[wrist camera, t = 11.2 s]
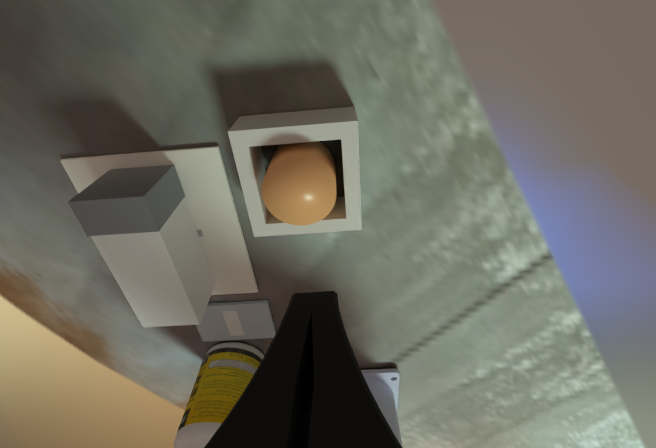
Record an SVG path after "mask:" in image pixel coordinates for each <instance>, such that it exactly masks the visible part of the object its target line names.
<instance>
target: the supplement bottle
mask: <svg viewBox="0 0 656 448" xmlns="http://www.w3.org/2000/svg"><path fill="white" fill-rule="evenodd" d="M263 358H264V355H263V354H262V353H261V352H260V351H259V350H258V349H256V348H255V347H253V346H251V345H248V344H244V343H239V342H226V343H221V344H217V345H215V346H213V347H212V348H210V349H209V350H208V351H207V353H206V355H205V357H204V359H203V362H202V364H201V367H200V371H199V373H198V376H197V379H196V382H195V385H194V387H193V390H192V393H191V396H190V399H189V402H188V404H187V407H186V410H185V413H184V415H183V418H182V421H181V424H180V426H179V429H178V432H177V435H176V438H175V443H174V448H204V447H205V446H206V444H207V443H208V442H209V440H210V439H211V438H212V436H213V435H214V433H215V432H216V431H217V429H218V428H219V427H220V425H221V424H222V423H223V421H224V420H225V418H226V417H227V416H228V414H229V413H230V411H231V410H232V408H233V407H234V405H235V404H236V402H237V401H238V399H239V398H240V396H241V395H242V393H243V392H244V390H245V388H246V387H247V385H248V384H249V382H250V380H251V379H252V377H253V375H254V373H255V372H256V370H257V368H258V367H259V365H260V363H261V361H262V360H263Z"/></svg>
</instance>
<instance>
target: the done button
mask: <svg viewBox="0 0 656 448" xmlns="http://www.w3.org/2000/svg"><path fill="white" fill-rule="evenodd" d="M262 198H263V201H264V204H265V206H266V207H267V209H268V210H269V211H270V213H271V214H272V215H273V216H275V217H276V218H277V219H279V220H281V221H283V222H285V223H288V224H292V225H310V224H314V223H316V222H318V221H320V220H322V219H323V218H325V217H326V216H327V215H328V214H329V213H330V212H331V210H332V209H333V207H334V205H335V201H336V168H335V161H334V158H333V156H332V154H331V152H330V151H329V149H328V148H327V147H326V146H325V145H323V144H322V143H321V142H319V141H315V142H302V143H290V144H281V145H279V147H278V148H277V149H276V150H275V152H274V154H273V156H272V158H271V161H270V164H269V167H268V169H267V172H266V175H265V178H264V180H263V183H262Z"/></svg>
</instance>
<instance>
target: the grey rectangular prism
mask: <svg viewBox="0 0 656 448" xmlns="http://www.w3.org/2000/svg"><path fill="white" fill-rule="evenodd" d="M68 203H69V205H70V207H71V208H72V210H73V212H74V213H75V215H76V217H77V219H78V220H79V222H80V224H81V225H82V227H83V229H84V231H85V232H86V234H87V236H91V238H92V240H93V241H94V243H95V245H96V247H97V248H98V250H99V252H100V253H101V255H102V257H103V259H104V260H105V262H106V264H107V266H108V267H109V269H110V271H111V273H112V274H113V276H114V278H115V279H116V281H117V283H118V285H119V286H120V288H121V290H122V292H123V293H124V295H125V297H126V299H127V300H128V302H129V304H130V306H131V307H132V309H133V311H134V312H135V314H136V316H137V318H138V319H139V321H140V323H141V325H142V326H143V327H161V326H180V325H199V324H200V322H201V320H202V317H203V315H204V312H205V310H206V307H207V305H208V302H209V300H210V297H211V295H212V292H213V290H214V287H215V285H216V283H215V280H214V277H213V274H212V272H211V269H210V266H209V263H208V261H207V258H206V255H205V252H204V249H203V247H202V244H201V241H200V238H199V235H198V233H197V230H196V227H195V224H194V221H193V219H192V216H191V213H190V210H189V207H188V205H187V202H186V199H185V194H184V191H183V188H182V185H181V183H180V180H179V177H178V174H177V171H176V169H175V166H174V165H162V166H149V167H135V168H122V169H110V170H109V171H107V172H106V173H105V174H104V175H102V176H101V177H100V178H98V179H97V180H96V181H94V182H93V183H92V184H90V185H89V186H88V187H87V188H85V189H84V190H83V191H81V192H80V193H79V194H77V195H76V196H75V197H73V198H72V199H71V200H70V201H68Z"/></svg>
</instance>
